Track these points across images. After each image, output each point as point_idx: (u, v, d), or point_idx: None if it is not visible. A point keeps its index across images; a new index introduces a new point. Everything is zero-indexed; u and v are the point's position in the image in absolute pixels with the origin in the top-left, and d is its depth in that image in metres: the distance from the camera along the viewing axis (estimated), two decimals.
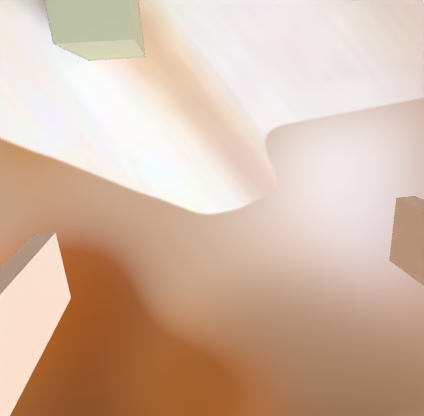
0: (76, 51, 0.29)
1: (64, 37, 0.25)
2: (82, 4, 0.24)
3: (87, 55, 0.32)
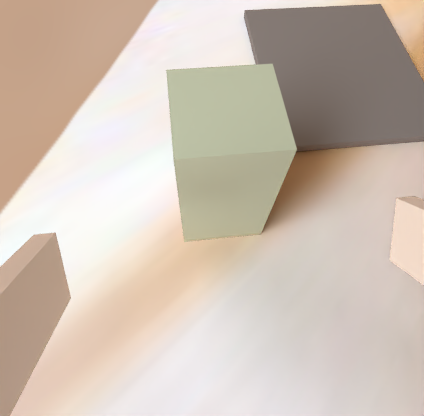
0: None
1: (174, 80, 0.18)
2: (216, 102, 0.17)
3: None
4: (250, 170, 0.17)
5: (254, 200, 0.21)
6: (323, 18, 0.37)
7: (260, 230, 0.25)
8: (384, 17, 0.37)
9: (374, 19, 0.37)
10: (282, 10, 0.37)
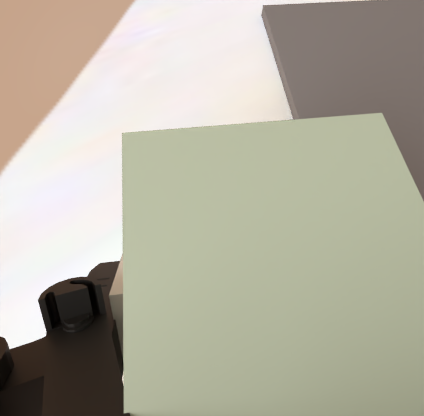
0: None
1: (139, 164, 0.07)
2: (255, 229, 0.06)
3: None
4: None
5: None
6: (374, 16, 0.26)
7: None
8: None
9: None
10: (316, 5, 0.26)
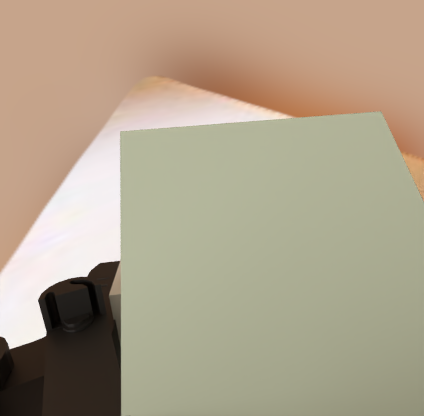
0: None
1: (138, 162, 0.07)
2: (254, 228, 0.06)
3: None
4: None
5: None
6: None
7: None
8: None
9: None
10: None
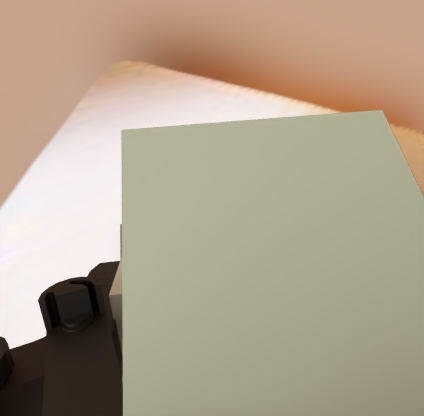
0: None
1: (139, 161, 0.07)
2: (255, 225, 0.06)
3: None
4: None
5: None
6: None
7: None
8: None
9: None
10: None
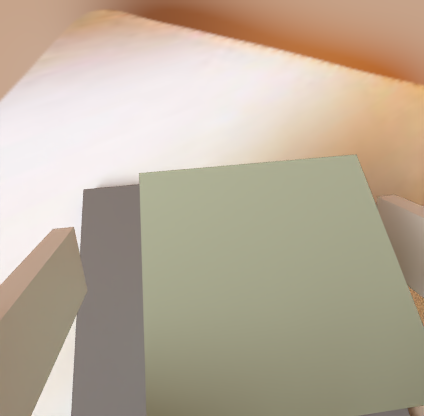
0: None
1: (154, 200, 0.08)
2: (248, 256, 0.08)
3: None
4: None
5: None
6: None
7: None
8: None
9: None
10: None
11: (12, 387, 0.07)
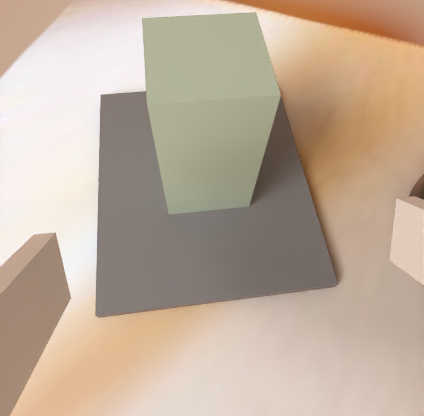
0: None
1: (149, 28, 0.17)
2: (195, 49, 0.16)
3: None
4: (232, 122, 0.16)
5: (238, 162, 0.19)
6: None
7: (248, 201, 0.24)
8: None
9: None
10: None
11: None
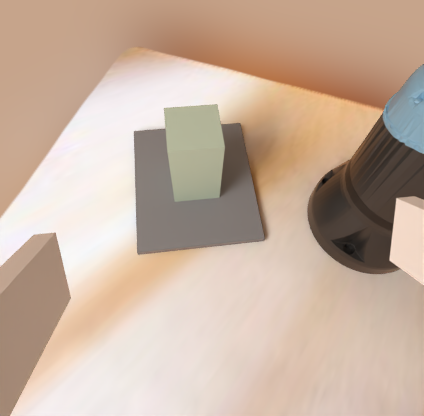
0: None
1: (167, 113, 0.36)
2: (188, 124, 0.36)
3: None
4: (204, 157, 0.36)
5: (210, 174, 0.39)
6: None
7: (218, 194, 0.44)
8: (240, 135, 0.49)
9: (231, 137, 0.49)
10: (162, 130, 0.49)
11: None
